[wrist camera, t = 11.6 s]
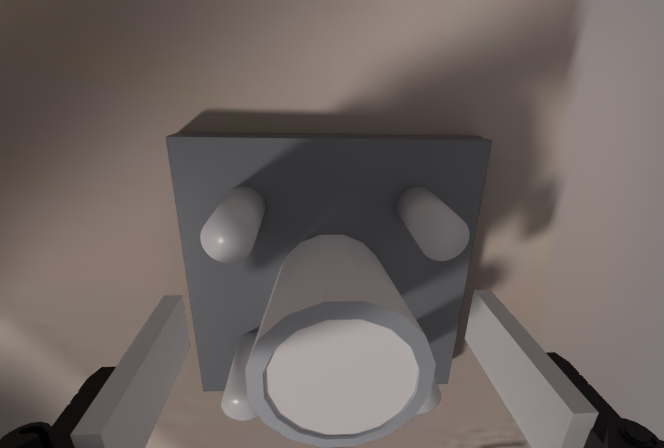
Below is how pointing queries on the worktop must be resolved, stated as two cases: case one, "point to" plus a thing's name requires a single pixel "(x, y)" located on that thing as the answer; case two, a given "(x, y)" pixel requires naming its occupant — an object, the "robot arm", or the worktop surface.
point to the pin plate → (320, 230)
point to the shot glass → (337, 349)
